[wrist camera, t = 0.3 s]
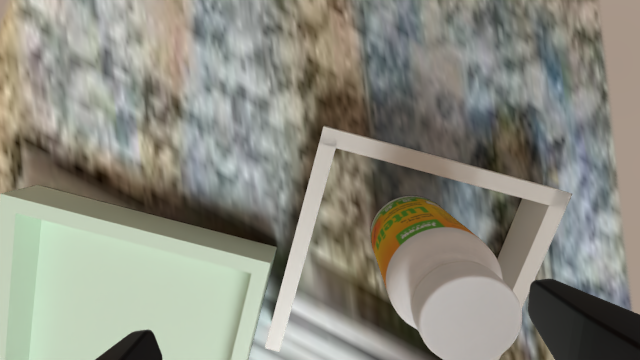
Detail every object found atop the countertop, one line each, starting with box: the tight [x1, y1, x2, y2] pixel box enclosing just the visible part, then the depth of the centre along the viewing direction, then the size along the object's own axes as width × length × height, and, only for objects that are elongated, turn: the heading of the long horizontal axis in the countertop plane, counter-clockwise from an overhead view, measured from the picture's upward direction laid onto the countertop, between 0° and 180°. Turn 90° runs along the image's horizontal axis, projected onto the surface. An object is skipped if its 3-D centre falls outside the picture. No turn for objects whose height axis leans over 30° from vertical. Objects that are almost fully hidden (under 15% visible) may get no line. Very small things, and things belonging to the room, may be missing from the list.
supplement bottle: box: [370, 196, 522, 360], centre depth 17 cm, size 5×5×10 cm
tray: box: [0, 185, 277, 360], centre depth 22 cm, size 17×17×2 cm
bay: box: [265, 125, 572, 360], centre depth 21 cm, size 15×15×2 cm
